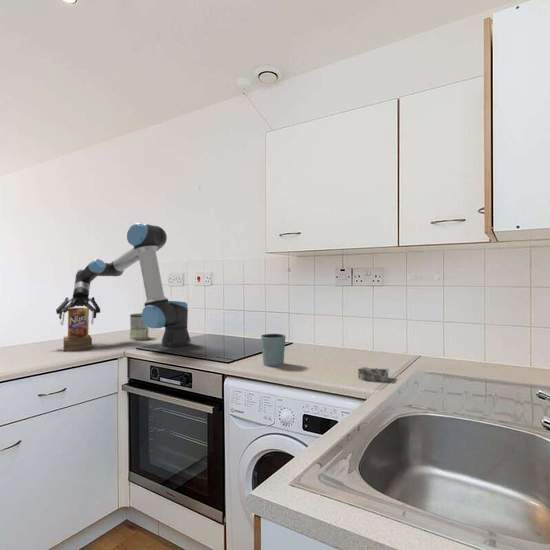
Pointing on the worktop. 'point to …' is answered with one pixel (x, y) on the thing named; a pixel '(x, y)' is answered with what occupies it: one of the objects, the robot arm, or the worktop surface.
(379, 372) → the mottled grey-green oblong lump
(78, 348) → the walnut stand
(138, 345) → the worktop surface
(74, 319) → the candy box
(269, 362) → the teal cup
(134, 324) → the coffee can
